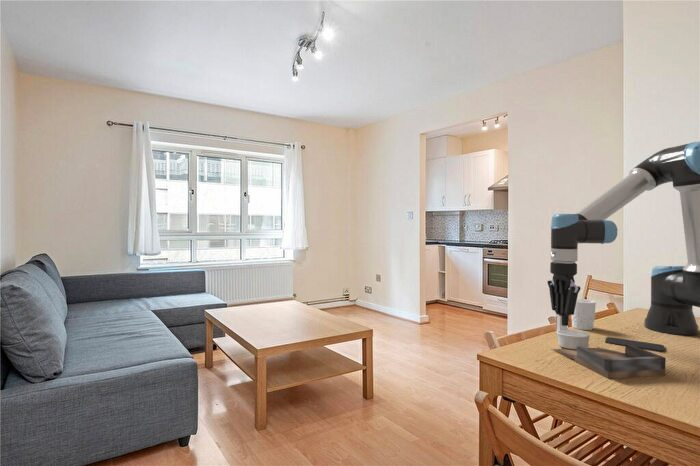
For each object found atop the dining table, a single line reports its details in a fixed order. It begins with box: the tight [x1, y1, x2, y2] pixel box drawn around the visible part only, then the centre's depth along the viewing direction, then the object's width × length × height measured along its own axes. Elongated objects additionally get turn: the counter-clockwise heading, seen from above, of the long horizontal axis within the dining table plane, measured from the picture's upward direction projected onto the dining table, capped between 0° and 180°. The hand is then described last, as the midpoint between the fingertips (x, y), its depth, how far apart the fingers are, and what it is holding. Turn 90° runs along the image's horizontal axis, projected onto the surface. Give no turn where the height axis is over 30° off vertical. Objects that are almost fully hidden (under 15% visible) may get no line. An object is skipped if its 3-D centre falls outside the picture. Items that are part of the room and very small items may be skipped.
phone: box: [604, 336, 666, 353], centre depth 123 cm, size 7×1×15 cm
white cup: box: [570, 298, 597, 331], centre depth 142 cm, size 8×8×10 cm
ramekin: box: [556, 329, 591, 350], centre depth 120 cm, size 9×9×4 cm
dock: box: [550, 344, 667, 379], centre depth 109 cm, size 16×22×6 cm
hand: (562, 334), depth 125 cm, fingers closed
